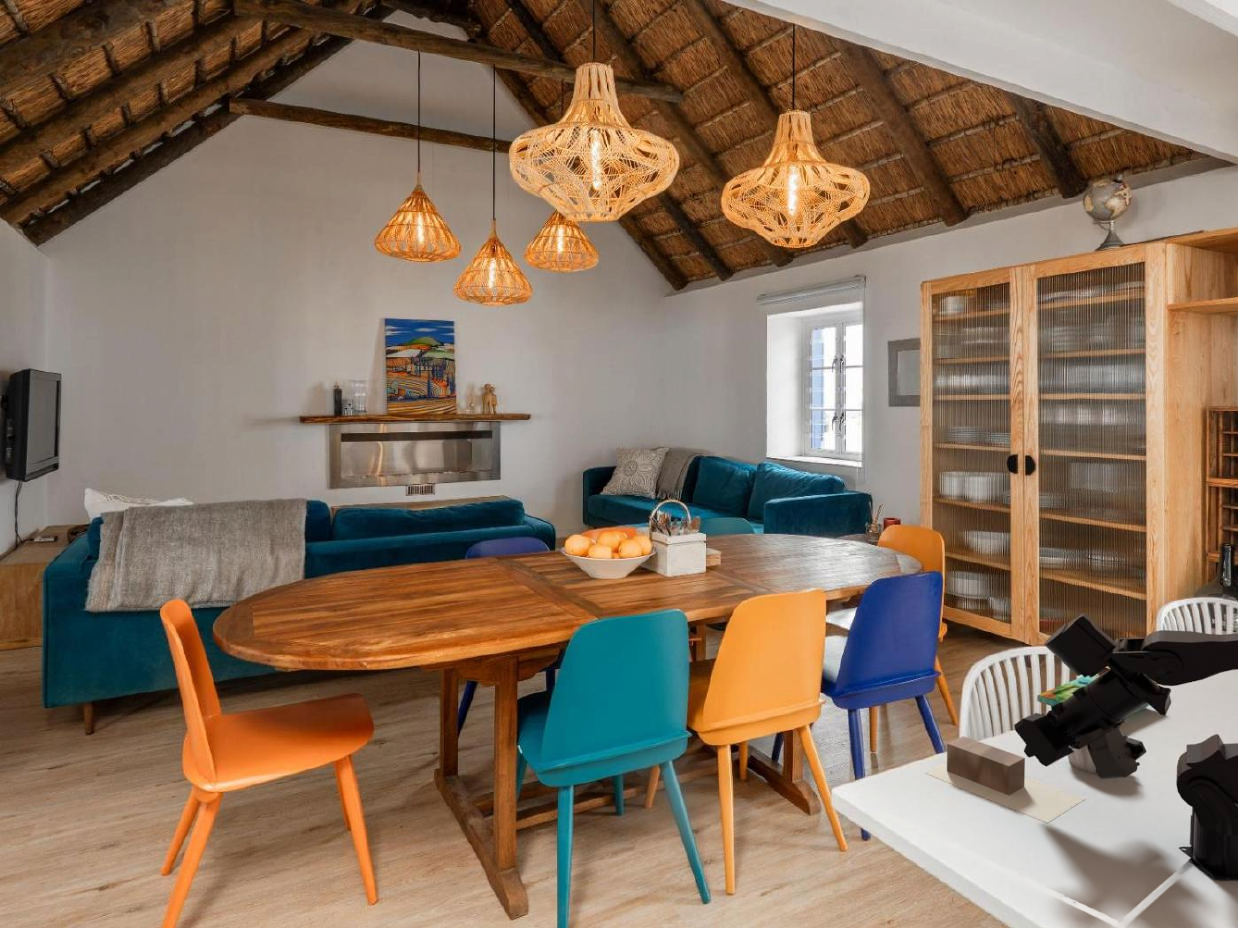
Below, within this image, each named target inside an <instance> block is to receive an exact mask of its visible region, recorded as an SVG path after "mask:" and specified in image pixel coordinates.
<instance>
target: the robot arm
mask: <svg viewBox="0 0 1238 928" xmlns="http://www.w3.org/2000/svg"><path fill="white" fill-rule="evenodd" d="M1043 646H1045V647H1046V648H1047V649H1048V650H1049V651H1050V652H1051V653H1052V654H1053V655H1054V656H1056V657H1057V659H1059V660H1060V661H1061V662H1062V663H1063V664H1064V665H1065V666H1066V667H1067V668H1068V669H1069V670H1070V671H1072V672H1073V673H1074V674H1075V675H1076V676H1077V677H1079V676H1081V675H1082V676H1081V677H1083V676H1084V677H1087V676H1089V677H1093V676H1095V675H1098V674H1099V673H1100V672H1101V671H1102V670H1105V669H1106V668H1107V667H1108V668H1109V669H1108V670H1106V671H1105V672H1104V673H1102V674H1100V675H1098V676H1099V677H1097V678H1096V679H1095V680H1093V681H1092V682H1090V683H1089V684H1087V685H1086V686H1084V687H1082V688H1079V689H1077V690H1076V691H1074V692H1073V693H1072V694H1073V695H1072V696H1070V697H1069V698H1068V699H1066V700H1065V701H1063V702H1060V703H1058V704H1056V705H1054V706H1053V707H1050V709H1051V710H1048V711H1047V713H1046V714H1044V713H1039V712H1035V713H1033V714H1031V715H1028V716H1025V717H1023V718H1022V719H1020V720H1019V721H1017V722H1016V723H1015V724H1014V725H1013V727H1014V731H1015V732H1016V733H1017V735H1018V736H1019V737H1020V738H1021V740H1022V741H1023V743H1024V744H1025V746H1024V748H1023V753H1024V755H1026V757H1027V758H1033V757H1035V758H1036V760H1038V762H1039V763H1040V764H1041V765H1042V766H1044V767H1049V766H1050V765H1053V764H1055V763H1056V762H1058V761H1060V760H1062V759H1064V758H1065V757H1068V755H1069V754H1071V753H1073V752H1074V751H1073V750H1072V749H1071V748H1075V749H1081V748H1083V747H1085V746H1087V745H1088V746H1087V748H1088V752H1089V754H1090V756H1091V759H1092V761H1093V763H1094V765H1095V768H1096V770H1095V771H1096V773H1097V774H1096V773H1095V774H1096V776H1097V777H1098V778H1099V779H1100V780H1102V781H1103V780H1111V779H1120V778H1127V777H1129V776H1130V775H1132V774H1134V773H1136V772H1137V771H1138V767H1139V766H1140V765H1141V764H1140V761H1138V760H1139V759H1140V758H1141V757H1143V756H1144V755H1145V754H1146V753H1147V749H1146V747H1145V745H1144V742H1143V741H1141V740H1138V739H1135V738H1132V737H1128V735H1127V734H1122V732H1121V730H1120V727H1121V726H1122V725H1123V724H1125V723H1126V721H1125V720H1126V719H1127V718H1128V717H1131V716H1132V715H1134V714H1135V713H1134V712H1136V711H1137V710H1139V709H1140V708H1142V707H1144V706H1145V705H1147V704H1149V706H1151V708H1152V709H1153V710H1154V711H1156V712H1157V713H1158V714H1159V715H1161V716H1163V717H1164V716H1166V715H1167V713H1168V711H1169V709H1170V707H1171V704H1172V699H1171V692H1172V689H1171V687H1175V686H1180V685H1184V684H1189V683H1194V682H1197V681H1203V680H1205V679H1208V678H1210V677H1213V676H1216V675H1218V674H1222V673H1225V672H1230V671H1234V670H1238V632H1235V633H1225V634H1224V633H1223V634H1219V633H1218V634H1216V633H1215V634H1214V633H1213V634H1212V633H1205V632H1200V631H1199V632H1198V631H1192V630H1172V629H1171V630H1165V629H1163V630H1155V631H1152V632H1151V633H1149V634H1147V636H1146V637H1124V638H1121V637H1119V638H1116V639H1115V640H1113V638H1112V637H1110V636H1109V635H1108V634H1107V633H1106V632H1104V631H1103V630H1102V629H1101V628H1100V627H1099V626H1098V625H1097V624H1096V623H1095V622H1094V620H1093V619H1092V618H1091V617H1090V616H1089V615H1088V614H1086V613H1085V612H1083V613H1081V614H1080V615H1078V616H1077V617H1075V618H1074V619H1072V620H1071V621H1069V622H1068V623H1067V622H1066V623H1064V624H1063V625H1062V626H1060V627H1059V628H1058V629H1057V630H1056V631H1055V632H1054V633H1052V635H1050V636H1049V638H1047V640H1046V641H1045V642H1044V643H1043ZM1164 686H1167V687H1164ZM1133 713H1134V714H1133ZM1131 714H1132V715H1131ZM1185 748H1186V751H1184V752H1183V753H1181V755H1180V756H1179V758H1178V760H1177V765H1176V782H1175V783H1176V789H1177V792H1178V794H1179V796H1180V798H1181V800H1183V802H1185V803H1186V804H1187V805H1189V806H1190V807H1191V815H1190V831H1189V846H1179V848H1178V850H1180V851H1181V852H1182V853H1184V855H1187V857H1189V859H1188V860H1189V861H1191V863H1193V864H1194V865H1196V866H1197V867H1198V868H1199V869H1200V870H1202V871H1203V872H1205V873H1206V874H1207V875H1209V876H1210V878H1212V879H1214V880H1221V881H1222V880H1238V743H1237V742H1236V743H1235V742H1234V743H1224V741H1223V739H1222V738H1221V737H1220V735H1219V734H1217V733H1215V734H1214V735H1211V736H1210V737H1207V738H1206V739H1204V741H1203V740H1202V741H1201V742H1198V743H1194V744H1193V743H1191V744H1190V743H1189V744H1186V747H1185Z"/></svg>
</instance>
